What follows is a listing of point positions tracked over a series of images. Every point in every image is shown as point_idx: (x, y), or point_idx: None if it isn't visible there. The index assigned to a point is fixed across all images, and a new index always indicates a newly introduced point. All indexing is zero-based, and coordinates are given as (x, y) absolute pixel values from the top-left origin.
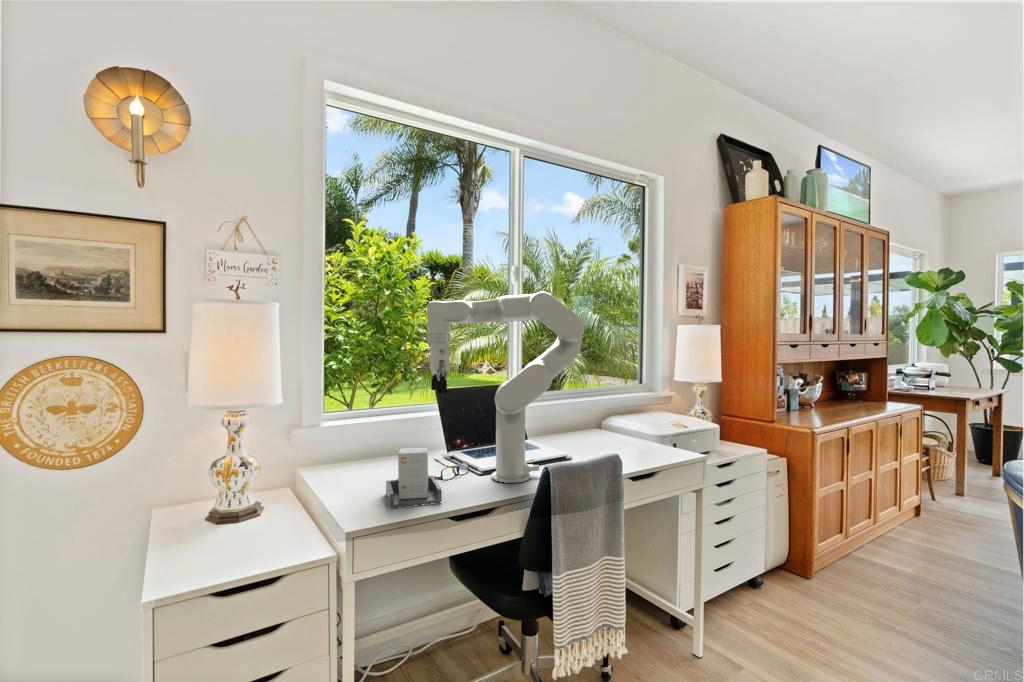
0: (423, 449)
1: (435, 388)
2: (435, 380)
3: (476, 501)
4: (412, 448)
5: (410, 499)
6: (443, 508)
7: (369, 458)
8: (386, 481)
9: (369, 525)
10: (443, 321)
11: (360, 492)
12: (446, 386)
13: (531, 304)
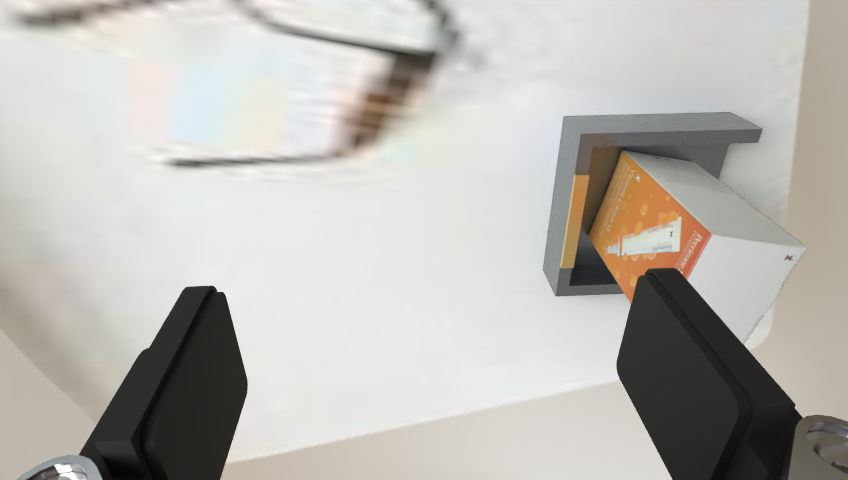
0: (745, 256)
1: (233, 364)
2: (195, 475)
3: None
4: None
5: None
6: (780, 114)
7: (27, 310)
8: (564, 295)
9: (770, 310)
10: None
11: (489, 331)
12: (724, 330)
13: None
